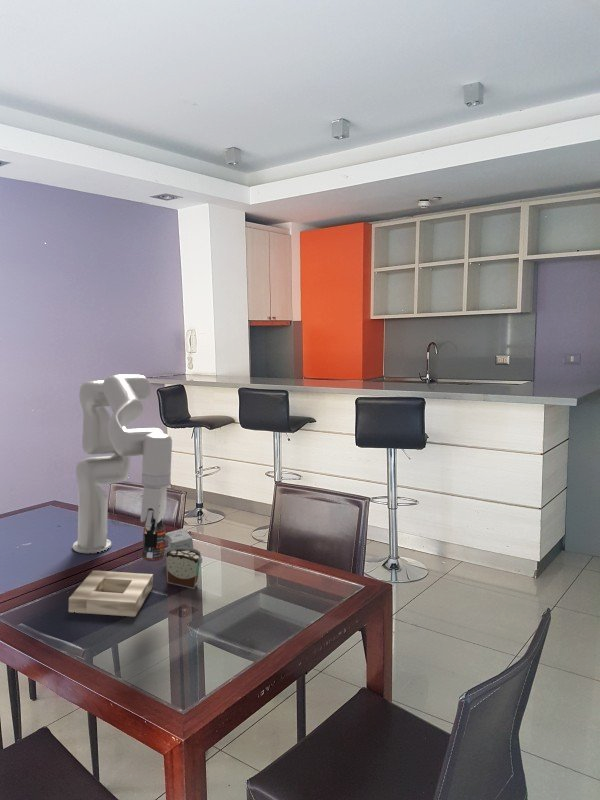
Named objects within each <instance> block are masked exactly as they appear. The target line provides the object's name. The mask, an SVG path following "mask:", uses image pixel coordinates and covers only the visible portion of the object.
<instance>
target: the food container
mask: <svg viewBox="0 0 600 800" xmlns="http://www.w3.org/2000/svg"><path fill="white" fill-rule="evenodd" d="M163 558H165V565H166V581H167V584H170V585H176V586H180V587H184V588H189V589H192V590H195V589H197V586H198V581H199V580H198V578H199V573H200V565H201V564H202V563H203V557H202V553H201V552H200V551H199V550H198V549H195V548H194V547H193V548H187V547H178V548H172V549H167V550H165V552H164V557H163Z"/></svg>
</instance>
